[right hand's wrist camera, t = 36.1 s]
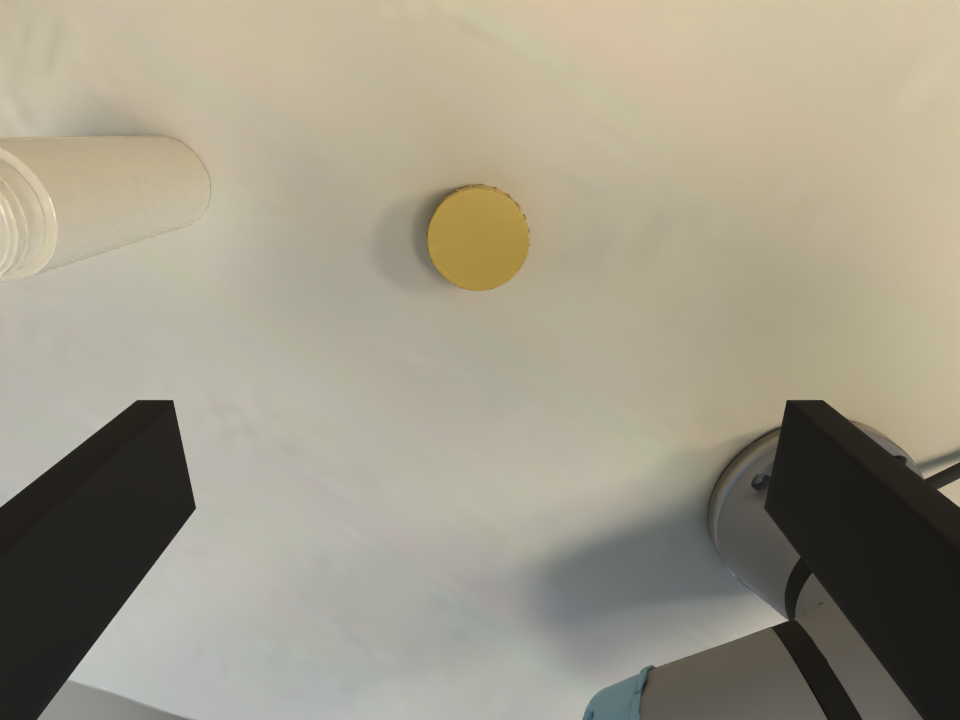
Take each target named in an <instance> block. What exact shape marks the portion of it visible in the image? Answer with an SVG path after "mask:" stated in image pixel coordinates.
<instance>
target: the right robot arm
mask: <svg viewBox="0 0 960 720" xmlns="http://www.w3.org/2000/svg"><path fill="white" fill-rule="evenodd" d="M959 478H960V462H959V463H957V464H955V465H953V466H951V467H949V468H947V469H945V470H943V471H941V472H939V473H937V474H935V475H933V476H931V477H929V478H927V479H924V478H923V476H922V474H921V472H920V471H919V469H918V468H917V466H916V465H915V463H914V462H913V460H912V459H911V458H910V457H909V455H908V454H907V453H906V452H905V451H904V450H902V449H901V448H900V447H899V446H897V445H896V444H895V443H893V442H892V441H891V440H889V439H888V438H887V437H886V436H884V435H883V434H881V433H880V432H878V431H876V430H874V429H872V428H871V427H868V426H866V425H863V424H860V423H856V422H853V421H849V420H847V419H846V418H845V417H843V416H842V415H841V414H840V413H838V412H837V411H836V410H835V409H833V408H832V407H831V406H829V405H828V404H827V403H826V402H824V401H823V400H787V402H786V407H785V412H784V417H783V421H782V426H781V429H779V430H776V431H774V432H772V433H770V434H768V435H766V436H764V437H762V438H761V439H759V440H758V441H756V442H755V443H753V444H752V445H750V446H749V447H748V448H747V449H745V450H744V451H743V452H742V453H741V454H740V455H738V456H737V457H736V458H735V460H734V461H733V462H732V463H731V464H730V465H729V466H728V468H727V469H726V470H725V471H724V473H723V474H722V476H721V478H720V479H719V481H718V483H717V485H716V487H715V489H714V492H713V494H712V497H711V501H710V505H709V512H708V524H709V531H710V536H711V539H712V541H713V544H714V546H715V548H716V550H717V551H718V553H719V555H720V557H721V558H722V560H723V562H724V564H725V565H726V567H727V568H728V570H729V571H730V572H731V573H732V574H733V575H734V576H735V577H736V578H737V579H738V580H739V581H740V582H741V583H742V584H744V585H745V586H746V587H748V588H749V589H751V590H752V591H753V592H755V593H756V594H757V595H758V596H759V597H760V598H762V599H763V600H764V601H765V602H766V603H768V604H769V605H770V606H771V607H772V608H774V609H775V610H776V611H777V612H779V613H780V614H781V615H782V616H784V617H785V618H786V619H787V620H789V621H787V622H784V623H781V624H779V625H776V626H773V627H769V628H766V629H763V630H761V631H758V632H755V633H753V634H750V635H747V636H745V637H742V638H739V639H737V640H734V641H731V642H728V643H726V644H723V645H720V646H717V647H714V648H711V649H708V650H705V651H702V652H700V653H697V654H694V655H691V656H688V657H685V658H682V659H679V660H677V661H674V662H671V663H668V664H665V665H662V666H659V667H654V666H653V665H651V666H647V667H645V668H643V669H642V670H641V672H640V674H637V675H635V676H633V677H630V678H628V679H626V680H623V681H621V682H619V683H616V684H614V685H612V686H609V687H607V688H604V689H602V690H601V691H599V692H598V693H597V694H596V695H594V697H593V698H592V699H591V701H590V702H589V704H588V706H587V708H586V710H585V713H584V716H583V720H960V507H958V506H957V505H956V504H954V503H953V502H952V501H951V500H949V499H948V498H947V497H945V496H944V495H943V494H942V493H940V492H939V491H938V490H937V489H939V488H941V487H943V486H945V485H947V484H949V483H951V482H953V481H955V480H957V479H959ZM195 509H196V506H195V501H194V497H193V492H192V487H191V483H190V478H189V473H188V468H187V464H186V459H185V454H184V450H183V445H182V440H181V435H180V431H179V426H178V421H177V417H176V412H175V407H174V402H173V400H137V401H136V402H134V403H133V404H132V405H131V406H129V407H128V408H127V409H125V410H124V411H123V412H122V413H120V414H119V415H118V416H117V417H115V418H114V419H113V420H111V421H110V422H109V423H108V424H106V425H105V426H104V427H102V428H101V429H100V430H99V431H97V432H96V433H95V434H94V435H92V436H91V437H90V438H88V439H87V440H86V441H85V442H83V443H82V444H81V445H80V446H78V447H77V448H76V449H74V450H73V451H72V452H71V453H69V454H68V455H67V456H66V457H64V458H63V459H62V460H60V461H59V462H58V463H57V464H55V465H54V466H53V467H51V468H50V469H49V470H48V471H46V472H45V473H44V474H43V475H41V476H40V477H39V478H37V479H36V480H35V481H34V482H32V483H31V484H30V485H29V486H27V487H26V488H25V489H23V490H22V491H21V492H20V493H18V494H17V495H16V496H15V497H13V498H12V499H11V500H9V501H8V502H7V503H6V504H4V505H3V506H2V507H0V720H37V719H38V717H39V716H40V715H41V713H42V712H43V711H44V709H45V708H46V707H47V705H48V704H49V703H50V701H51V700H52V699H53V697H54V696H55V695H56V693H57V692H58V691H59V689H60V688H61V687H62V685H63V684H64V683H65V681H66V680H67V679H68V678H69V676H70V675H71V674H72V672H73V671H74V670H75V668H76V667H77V666H78V664H79V663H80V662H81V660H82V659H83V658H84V656H85V655H86V654H87V652H88V651H89V650H90V648H91V647H92V646H93V644H94V643H95V642H96V640H97V639H98V638H99V636H100V635H101V634H102V632H103V631H104V630H105V628H106V627H107V626H108V624H109V623H110V622H111V620H112V619H113V618H114V616H115V615H116V614H117V612H118V611H119V610H120V609H121V607H122V606H123V605H124V603H125V602H126V601H127V599H128V598H129V597H130V595H131V594H132V593H133V591H134V590H135V589H136V587H137V586H138V585H139V583H140V582H141V581H142V579H143V578H144V577H145V575H146V574H147V573H148V571H149V570H150V569H151V567H152V566H153V565H154V563H155V562H156V561H157V559H158V558H159V557H160V555H161V554H162V553H163V551H164V550H165V549H166V547H167V546H168V545H169V543H170V542H171V541H172V539H173V538H174V537H175V536H176V534H177V533H178V532H179V530H180V529H181V528H182V526H183V525H184V524H185V522H186V521H187V520H188V518H189V517H190V516H191V514H192V513H193V512H194V510H195Z"/></svg>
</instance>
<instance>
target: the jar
mask: <svg viewBox="0 0 960 720" xmlns="http://www.w3.org/2000/svg"><path fill="white" fill-rule="evenodd" d="M210 195H211V186H210V180H209V176H208V173H207V171H206V169H205V167H204V165H203V163H202V162H201V160H200V159H199V157H198V156H197V155H196V154H195V153H194V152H193V151H192V150H191V149H190V148H189V147H187V146H186V145H185V144H183V143H181V142H180V141H178V140H176V139H173V138H170V137H166V136H158V135H146V136H63V137H0V281H16V280H21V279H25V278H28V277H31V276H34V275H37V274H40V273H44V272H47V271H50V270H53V269H56V268H59V267H62V266H65V265H68V264H71V263H74V262H78V261H81V260H84V259H87V258H90V257H93V256H96V255H99V254H102V253H105V252H108V251H112V250H115V249H118V248H121V247H124V246H127V245H130V244H133V243H136V242H139V241H143V240H146V239H149V238H152V237H155V236H158V235H161V234H164V233H167V232H170V231H173V230H177V229H180V228H183V227H186V226H188V225H191V224H193V223H194V222H196V221H197V220H198V219H200V217H201V216H202V215H203V214H204V212H205V211H206V209H207V207H208V204H209V201H210Z"/></svg>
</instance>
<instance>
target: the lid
mask: <svg viewBox="0 0 960 720" xmlns="http://www.w3.org/2000/svg"><path fill="white" fill-rule="evenodd" d="M435 210H436V211H435V213H434V215H433V217H431V219H430V221H429V222H430V225H429V229H428V232H427V243H428V250H429V254H430V257H431V260H432V262H433V264H434V265H435V267H436V269H437V270H438V271H439V273H440V274H441V275H442V276H443V277H444V278H445V279H447V280H448V281H449V282H451V283H452V284H454V285H456V286H458V287H461V288H464V289H468V290H475V291H481V290H489V289H493V288H496V287H498V286H500V285H502V284H504V283H506V282H507V281H509V280H510V279H511V278H512V277H513V276H514V275H515V274H516V273H517V272H518V271H519V269H520V268H521V266H522V265H523V263H524V261H525V259H526V255H527V252H528V247H529V229H528V227H527V224H526V221H525V219H526V217H525V216H524V214H522V212H521V210H520V209H519V205H518V203H515V202H514V201H513V200H512V199H511V198H510V196H509V194H505V193H504V192H502V191H500V190H498V189H497V187H496V188H493V187H489V186H484V184H483V185H474V186H471V185H469V186H467V187H464V188H461V189H457V190H456V191H455V192H453V193H451V194H450V195H449V196H446V197H445V199H444V200H443V201H442V202H441V204H440V205H438V206H437V207H436V209H435Z"/></svg>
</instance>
